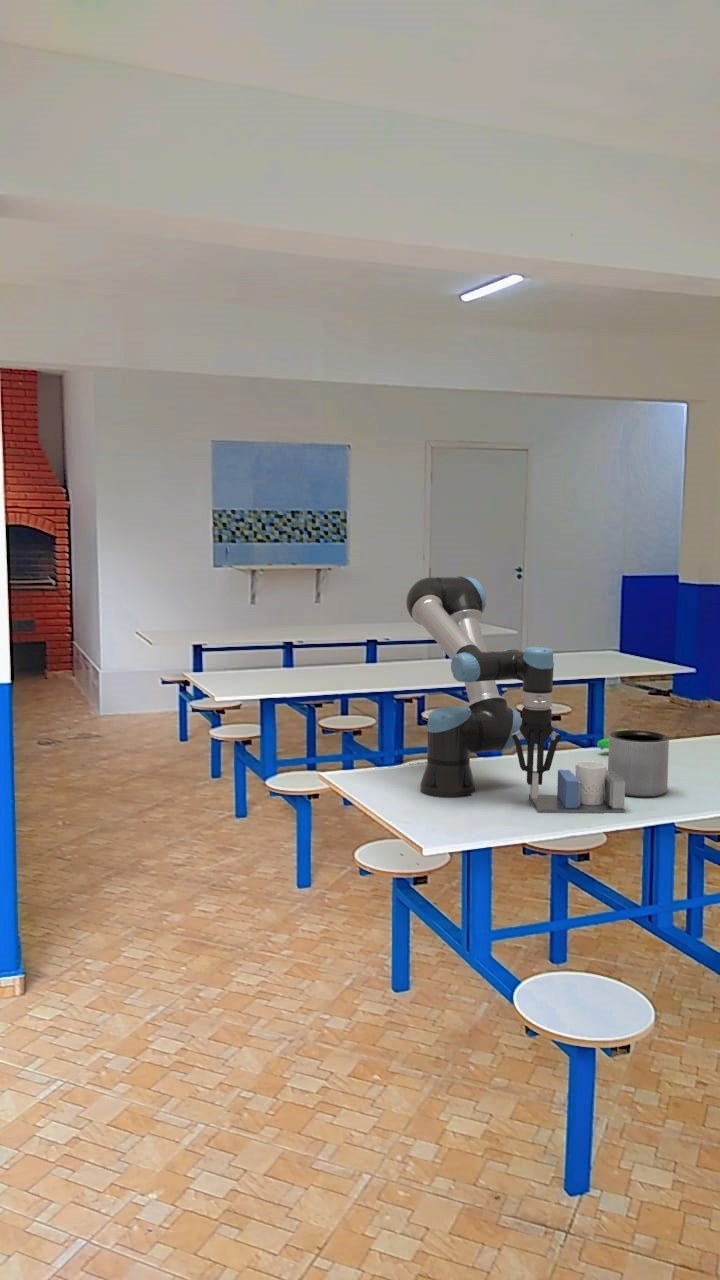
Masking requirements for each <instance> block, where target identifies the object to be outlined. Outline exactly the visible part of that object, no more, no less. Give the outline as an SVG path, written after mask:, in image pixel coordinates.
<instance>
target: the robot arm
mask: <svg viewBox="0 0 720 1280" xmlns="http://www.w3.org/2000/svg"><path fill="white" fill-rule="evenodd" d="M485 600H486V592H485V589H484V588H483V585H482V584H481V582H479V581H478V580H477V579H476V578H474V577H468V576H466V577H465V576H461V575H460V576H456V577H452V576H451V577H448V576H447V577H443V576H441V577H438V576H437V577H434V576H433V577H430V576H429V577H425V578H421V579H420V580H418V581H416V582H415V583H413V584H412V586H411V587H410V589H409V590H408V593H407V595H406V603H405V604H406V608H407V613H408V614H409V617H410V618H412V619H413V621H414V622H415V623H416V624H417V625H421V626H423V628H425V630H426V631H427V633H429V635H430V636H431V637H432V639H433V640H434V641H435V642H436V643H437V644H438V645H439V647H441V648H440V649H442V651H444V653H445V654H446V655H447V656H448V658H450V660H451V661H450V663H451V664H450V670H451V673H452V677H453V679H454V680H456V681H457V682H459V683H460V682H461V683H464V686H465V689H466V695H467V698H468V701H469V703H468V705H467V706H466V705H447V706H446V705H445V706H442V707H438V708H435V709H434V710H432V711H431V712H430V713H429V714H428V718H427V726H426V730H427V747H426V749H427V752H426V753H427V755H426V756H427V759H426V760H427V761H426V763H427V764H426V765H425V769H424V773H423V776H422V777H421V781H420V793H421V794H423V795H426V796H428V797H434V798H441V799H442V798H443V799H444V798H445V799H457V798H466V797H471V796H473V794H474V793H475V792H476V782H475V778H474V776H473V773H472V769H471V765H470V758H471V754H475V753H486V752H487V753H488V752H501V751H505V750H510V749H513V748H514V747H515V749H516V753H517V758H518V763H519V767H520V769H521V771H524V772H526V783H527V785H529V786H530V787H529V788H530V791H529V792H530V793H529V795H530V796H531V797H532V798H538V795H539V786H542V784H543V774H544V772H549V771H550V770H551V767H552V763H553V760H554V756H555V753H556V749H557V745H558V744H559V742H560V741H561V739H562V735H561V734H559V733H558V732H556V731H554V729H553V726H552V715H553V714H552V713H553V710H552V709H551V708H552V706H553V683H554V681H553V680H554V666H555V663H554V651H553V650H552V648H549V647H542V646H530V647H529V646H528V647H525V649H524V651H522V650H519V649H515V648H508V649H507V648H505V649H504V650H502V651H488V649H487V646H486V644H485V640H484V635H483V633H482V628H481V625H480V621H481V619H482V617H483V613H484V611H485V609H486V605H487V603H486V602H485ZM508 680H518V681H520V682H521V681H522V701H521V703H522V706H523V707H522V708H521V716H520V714H519V712H518V711H517V710H516V709H515V708H513V707H511V706H510V707H509V706H508V702H507V699H506V698H505V697H503V696H501V695H500V693H499V689H498V687H497V683H496V681H508ZM522 736H523V738H524V739H525V741H526V742H527V743H526V744H527V753H526V762H525V756H524V752H523V746H522V742H521V739H522ZM549 738H550V743H549V745H548V746H549V747H548V750H547V753H546V758H545V760H544V756H545V755H544V752H545V751H544V750H545V743H546V742H547V740H548V739H549ZM535 744H536V745H537V749H536V751H537V752H536V770H534V757H535V756H534V751H535Z"/></svg>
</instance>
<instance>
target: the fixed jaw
mask: <svg viewBox="0 0 720 1280" xmlns="http://www.w3.org/2000/svg"><path fill="white" fill-rule="evenodd" d="M625 797H626V795H625V781H624V780H623V779H622V778H621V777H620V776H619V775H618V774H617V773H616V772H615V771H614V770H608V769H606V780H605V791H604V798H603V799H604V800H605V801H606V803H607V804H608V805H609V806H611V808H612V809H625V801H626V800H625Z"/></svg>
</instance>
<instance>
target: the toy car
mask: <svg viewBox="0 0 720 1280" xmlns="http://www.w3.org/2000/svg"><path fill="white" fill-rule="evenodd" d="M622 730H627V729H625V728H620V729H617V730H616V731H622ZM596 745H597V748H598V749H600V750H602V751H603V750H605V749H607V750H609V738H603V739H600V740H598V741H597V744H596Z"/></svg>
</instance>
